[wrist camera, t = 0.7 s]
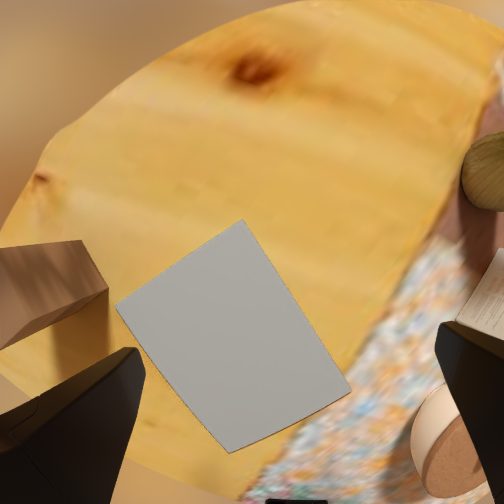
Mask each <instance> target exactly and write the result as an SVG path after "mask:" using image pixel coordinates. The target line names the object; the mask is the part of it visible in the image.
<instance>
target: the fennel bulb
mask: <svg viewBox="0 0 504 504" xmlns="http://www.w3.org/2000/svg"><path fill="white" fill-rule="evenodd" d="M462 185H463V189H464V192H465V194H466V196H467V197H468V199H469V200H470V202H471V203H472V204H473V205H474V206H476V207H478V208H481V209H484V208H487V209H489V210H492V211H498V212H504V131H500V132H496V133H492V134H489V135H486V136H484V137H482V138H481V139H479V140H477V141H476V142H474V143H473V144H472V145H471V148H470V149H469V150H468V152H467V153H466V155H465V157H464V165H463V169H462Z"/></svg>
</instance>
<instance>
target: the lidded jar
mask: <svg viewBox="0 0 504 504" xmlns="http://www.w3.org/2000/svg"><path fill="white" fill-rule="evenodd" d="M410 447H411V454H412V458H413V461H414V464H415V467H416V469H417V471H418V473H419V475H420V477H421V479H422V482H423V485H424V487H425V489H426V490H427V492H428V493H429V494H430V495H432V496H434V497H437V498H451V497H456V496H459V495H462V494H464V493H467V492H469V491H471V490H473V489H474V488H476V487H478V486H479V485H481V484H482V483H484V482H485V481H486V480H487V479H486V476H485V473H484V470H483V468H482V465H481V463H480V460H479V458H478V455H477V453H476V450H475V448H474V445H473V443H472V440H471V438H470V436H469V433H468V431H467V429H466V426H465V424H464V422H463V420H462V417H461V415H460V413H459V411H458V409H457V407H456V404H455V402H454V400H453V398H452V396H451V394H450V391H449V389H448V386H447V384H446V383H445V384H443V385H441V386H439V387H438V388H436V389H435V390H434V391H433V392H432V393H430V394H429V396H428V397H427V398H426V399H425V400H424V402H423V403H422V405H421V407H420V409H419V411H418V414H417V416H416V418H415V421H414V423H413V427H412V431H411V437H410Z"/></svg>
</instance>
